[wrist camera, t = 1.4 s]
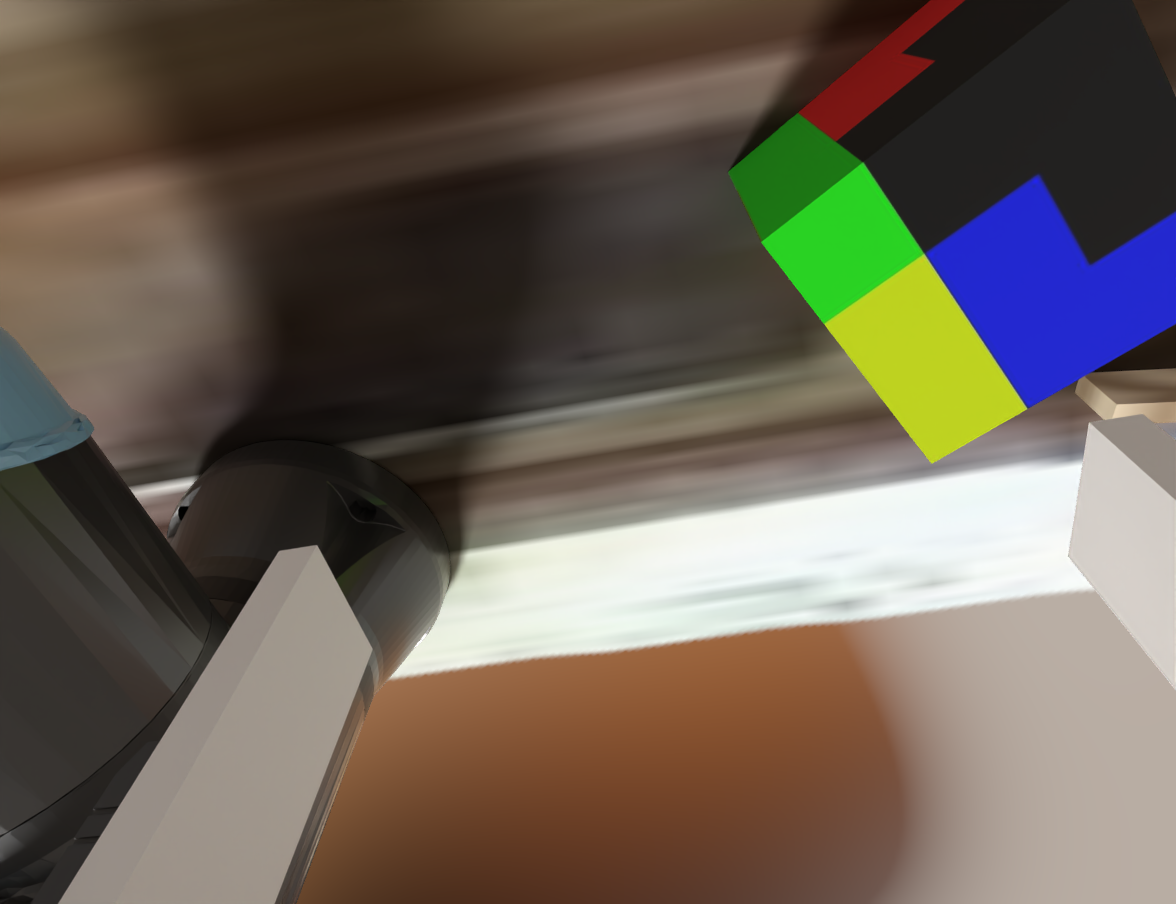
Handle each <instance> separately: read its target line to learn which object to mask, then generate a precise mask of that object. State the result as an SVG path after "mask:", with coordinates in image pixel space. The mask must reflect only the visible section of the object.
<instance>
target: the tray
mask: <svg viewBox="0 0 1176 904" xmlns="http://www.w3.org/2000/svg"><path fill="white" fill-rule="evenodd" d="M1075 393H1076V394H1077V395H1078V396H1079V397H1080V398H1081V399H1082V400H1083V401H1084V402H1086V403H1087V404H1088V405H1089V406H1090V407H1091V408H1092V409H1093V410H1094V411H1095V412H1096V413H1097V414H1099V415H1100V416H1101V417H1102V418H1103V419H1104V420H1107V419H1113V418H1120V417H1126V416H1132V415H1139V414H1143V415H1145V416H1146V417H1147V418H1148V419H1150V420H1151V421H1152V422H1153V423H1169V422H1176V368H1173V369H1154V370H1134V371H1114V372H1094V373H1089V374H1088V375H1086V376H1084V377H1082V378H1081V379H1079V380H1078V384H1077V387H1076V390H1075Z"/></svg>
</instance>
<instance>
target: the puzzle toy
mask: <svg viewBox="0 0 1176 904" xmlns="http://www.w3.org/2000/svg"><path fill="white" fill-rule="evenodd" d="M728 173H729V175H730V177H731V180H732V182H733V184H734V186H735V188H736V190H737V192H738V194H739V196H740V199H741V201H742V203H743V205H744V207H745V209H746V211H747V213H748V215H749V217H750V220H751V222H752V224H753V226H754V228H755V230H756V232H757V234H758V236H759V239H760V241H761V242H762V244H763V245H764V246H765V248H766V249H767V250H768V252H769V253H770V254H771V256H772V257H773V258H774V259H775V261H776V262H777V263H778V265H779V266H780V267H781V269H782V270H783V271H784V272H785V274H786V275H787V276H788V278H789V279H790V280H791V282H792V283H793V284H794V285H795V287H796V288H797V289H798V291H799V292H800V293H801V295H802V296H803V297H804V298H805V300H806V301H807V302H808V304H809V305H810V306H811V308H812V309H813V310H814V311H815V313H816V314H817V315H818V317H819V318H820V319H821V321H822V322H823V323H824V324H825V326H826V327H827V328H828V330H829V331H830V332H831V334H832V335H833V336H834V337H835V339H836V340H837V341H838V343H839V344H840V345H841V347H842V348H843V349H844V350H845V352H846V353H847V354H848V356H849V357H850V358H851V360H852V361H853V362H854V363H855V365H856V366H857V367H858V369H859V370H860V371H861V373H862V374H863V375H864V377H865V378H866V379H867V380H868V382H869V383H870V384H871V386H872V387H873V388H874V390H875V391H876V392H877V393H878V395H879V396H880V397H881V399H882V400H883V401H884V403H885V404H886V405H887V406H888V408H889V409H890V410H891V412H892V413H893V414H894V416H895V417H896V418H897V419H898V421H899V422H900V423H901V425H902V426H903V427H904V429H905V430H906V431H907V432H908V434H909V435H910V436H911V438H912V439H913V440H914V442H915V443H916V444H917V445H918V447H919V448H920V449H921V451H922V452H923V453H924V455H925V456H926V457H927V458H928V460H929V461H930V462H931V464H932V463H934V462H935V461H937V460H939V459H941V458H942V457H944V456H946V455H948V454H949V453H951V452H953V451H955V450H956V449H958V448H960V447H962V446H963V445H965V444H967V443H969V442H970V441H972V440H974V439H976V438H977V437H979V436H981V435H983V434H984V433H986V432H988V431H990V430H991V429H993V428H995V427H997V426H998V425H1000V424H1002V423H1004V422H1005V421H1007V420H1009V419H1011V418H1012V417H1014V416H1016V415H1018V414H1019V413H1021V412H1023V411H1025V410H1026V409H1028V408H1030V407H1032V406H1033V405H1035V404H1037V403H1039V402H1040V401H1042V400H1044V399H1046V398H1047V397H1049V396H1051V395H1053V394H1054V393H1056V392H1058V391H1060V390H1061V389H1063V388H1065V387H1067V386H1068V385H1070V384H1072V383H1074V382H1075V381H1077V380H1079V379H1081V378H1082V377H1084V376H1086V375H1088V374H1089V373H1091V372H1093V371H1095V370H1096V369H1098V368H1100V367H1101V366H1103V365H1105V364H1107V363H1108V362H1110V361H1112V360H1114V359H1115V358H1117V357H1119V356H1121V355H1122V354H1124V353H1126V352H1128V351H1129V350H1131V349H1133V348H1135V347H1136V346H1138V345H1140V344H1142V343H1143V342H1145V341H1147V340H1149V339H1150V338H1152V337H1154V336H1156V335H1157V334H1159V333H1161V332H1163V331H1164V330H1166V329H1168V328H1170V327H1171V326H1173V325H1175V324H1176V97H1175V94H1174V92H1173V90H1172V88H1171V86H1170V83H1169V81H1168V79H1167V77H1166V74H1165V72H1164V70H1163V68H1162V66H1161V63H1160V61H1159V59H1158V57H1157V55H1156V52H1155V50H1154V48H1153V46H1152V43H1151V41H1150V39H1149V37H1148V35H1147V32H1146V30H1145V28H1144V26H1143V24H1142V21H1141V19H1140V17H1139V15H1138V13H1137V10H1136V8H1135V6H1134V4H1133V1H1132V0H930V1H929V2H928V3H927V4H926V5H924V6H923V7H922V8H921V9H920V10H918V11H917V12H916V13H915V14H914V15H913V16H911V17H910V18H909V19H908V20H907V21H905V22H904V23H903V24H902V25H901V26H900V27H898V28H897V29H896V30H895V31H894V32H893V33H891V34H890V35H889V36H888V37H887V38H885V39H884V40H883V41H882V42H881V43H880V44H878V45H877V46H876V47H875V48H874V49H872V50H871V51H870V52H869V53H868V54H867V55H865V56H864V57H863V58H862V59H861V60H859V61H858V62H857V63H856V64H855V65H854V66H852V67H851V68H850V69H849V70H848V71H847V72H845V73H844V74H843V75H842V76H841V77H839V78H838V79H837V80H836V81H835V82H834V83H832V84H831V85H830V86H829V87H828V88H826V89H825V90H824V91H823V92H822V93H821V94H819V95H818V96H817V97H816V98H815V99H813V100H812V101H811V102H810V103H809V104H808V105H806V106H805V107H804V108H803V109H802V110H801V111H799V112H798V113H797V114H796V115H795V116H793V117H792V118H791V119H790V120H789V121H788V122H786V123H785V124H784V125H783V126H782V127H780V128H779V129H778V130H777V131H776V132H775V133H773V134H772V135H771V136H770V137H769V138H767V139H766V140H765V141H764V142H763V143H762V144H760V145H759V146H758V147H757V148H756V149H755V150H753V151H752V152H751V153H750V154H749V155H747V156H746V157H745V158H744V159H743V160H742V161H740V162H739V163H738V164H737V165H736V166H734V167H733V168H732V169H731V170H730V171H729V172H728Z"/></svg>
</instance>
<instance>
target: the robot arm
mask: <svg viewBox="0 0 1176 904" xmlns="http://www.w3.org/2000/svg"><path fill="white" fill-rule="evenodd" d="M93 431H94V427H93V425H92V424H91V422H90V421H89V420H88V418H87V417H86V416H85V415H83V414H81V413H79V412H78V411H76V410H74V409H71V408H70V406H69V405H68V404H67V403H66V401H65V400H64V399H63V398H62V397H61V395H60V394H59V393H58V392H57V390H56V389H55V388H54V387H53V385H52V384H51V383H50V382H49V380H48V379H47V378H46V377H45V376H44V374H43V373H42V372H41V371H40V369H39V368H38V367H37V366H36V364H35V363H34V362H33V361H32V359H31V358H30V357H29V356H28V355H27V353H26V352H25V351H24V350H23V348H22V347H21V346H20V345H19V343H18V342H17V341H16V340H15V339H14V338H13V337H12V336H11V335H10V334H9V333H8V332H7V331H6V330H4V329H3V328H2V327H0V904H296V903H297V900H298V897H299V894H300V892H301V889H302V886H303V884H304V881H305V878H306V876H307V873H308V870H309V868H310V865H311V862H312V859H313V857H314V854H315V851H316V849H317V846H318V843H319V841H320V838H321V835H322V833H323V830H324V827H325V825H326V822H327V819H328V816H329V814H330V811H331V808H332V805H333V803H334V800H335V797H336V795H337V792H338V789H339V786H340V784H341V781H342V779H343V776H344V773H345V770H346V768H347V765H348V762H349V759H350V757H351V754H352V751H353V749H354V746H355V744H356V741H357V738H358V735H359V733H360V731H361V728H362V725H363V722H364V720H365V717H366V715H367V712H368V710H369V707H370V704H371V702H372V699H373V697H374V695H375V694H376V693H377V692H378V691H379V690H380V688H381V687H382V686H383V685H384V684H385V683H386V681H387V680H388V679H389V678H390V677H391V676H392V674H393V673H394V672H395V671H396V670H397V669H398V667H399V666H400V665H401V664H402V662H403V661H404V660H405V659H406V658H407V656H408V655H409V654H410V653H411V651H412V650H413V649H414V648H415V647H416V646H417V645H418V644H419V643H420V642H421V641H422V640H423V639H424V638H425V637H426V636H427V634H428V633H429V632H430V630H431V628H432V627H433V625H434V623H435V621H436V619H437V617H438V615H439V612H440V609H441V606H442V603H443V600H444V597H445V594H446V591H447V588H448V584H449V579H450V556H449V551H448V547H447V543H446V540H445V538H444V535H443V533H442V530H441V528H440V526H439V524H438V523H437V521H436V519H435V518H434V516H433V515H432V513H431V512H430V510H429V509H428V508H427V506H426V505H425V504H424V503H423V502H422V500H421V499H420V498H419V497H418V496H417V495H416V494H415V493H414V492H413V491H412V490H411V489H410V488H409V487H408V486H406V485H405V484H404V483H403V482H402V481H400V480H399V479H398V478H396V477H395V476H394V475H392V474H391V473H389V472H388V471H386V470H385V469H383V468H382V467H380V466H378V465H376V464H375V463H373V462H371V461H369V460H367V459H365V458H363V457H360V456H358V455H356V454H353V453H351V452H348V451H345V450H342V449H339V448H336V447H333V446H328V445H324V444H320V443H314V442H307V441H297V440H276V441H266V442H260V443H255V444H251V445H247V446H244V447H241V448H239V449H236V450H234V451H232V452H230V453H228V454H226V455H224V456H223V457H221V458H220V459H218V460H217V461H216V462H214V463H213V464H212V465H211V466H210V467H209V468H208V469H207V470H206V471H205V472H204V473H203V474H202V475H201V476H200V477H199V478H198V479H197V481H196V482H195V483H194V484H193V485H192V486H191V487H190V488H189V489H188V490H187V492H186V493H185V494H184V495H183V497H182V499H181V500H180V502H179V503H178V505H177V507H176V509H175V511H174V513H173V515H172V518H171V521H170V524H169V528H168V532H167V539H166V538H165V537H164V536H163V534H162V533H161V531H160V530H159V529H158V527H157V526H156V525H155V523H154V522H153V520H152V519H151V518H150V516H149V515H148V514H147V512H146V511H145V510H144V508H143V507H142V505H141V504H140V503H139V501H138V500H137V499H136V497H135V496H134V494H133V493H132V492H131V490H130V489H129V488H128V486H127V485H126V483H125V482H124V481H123V479H122V478H121V477H120V475H119V474H118V472H117V471H116V470H115V468H114V467H113V466H112V464H111V463H110V462H109V460H108V459H107V457H106V456H105V455H104V453H103V452H102V451H101V449H100V448H99V446H98V445H97V444H96V442H95V441H94V440H93V438H92V437H91V434H92V432H93ZM1068 557H1069V558H1070V559H1071V561H1072V562H1073V563H1074V564H1075V566H1076V567H1077V568H1078V569H1079V571H1080V572H1081V573H1082V574H1083V576H1084V577H1085V578H1086V579H1087V581H1088V582H1089V583H1090V584H1091V585H1092V587H1093V588H1094V589H1095V590H1096V592H1097V593H1098V594H1099V595H1100V596H1101V598H1102V599H1103V600H1104V602H1105V603H1106V604H1107V605H1108V607H1109V608H1110V609H1111V610H1112V611H1113V613H1114V614H1115V615H1116V617H1117V618H1118V619H1119V620H1120V622H1121V623H1122V624H1123V625H1124V627H1125V628H1126V629H1127V630H1128V631H1129V633H1130V634H1131V635H1132V636H1133V638H1134V639H1135V640H1136V641H1137V643H1138V644H1139V645H1140V646H1141V647H1142V649H1143V650H1144V651H1145V653H1146V654H1147V655H1148V656H1149V658H1150V659H1151V660H1152V661H1153V662H1154V664H1155V665H1156V666H1157V667H1158V669H1159V670H1160V671H1161V672H1162V674H1163V675H1164V676H1165V677H1166V679H1167V680H1168V681H1169V682H1170V684H1171V685H1172V686H1173V687H1174V689H1175V690H1176V440H1175V439H1174V438H1172V437H1171V436H1170V435H1169V434H1167V433H1166V432H1165V431H1164V430H1162V429H1161V428H1160V427H1159V426H1157V425H1156V424H1155V423H1153V422H1152V421H1151V420H1150V419H1148V418H1147V417H1146V416H1145V415H1143V414H1139V415H1132V416H1126V417H1120V418H1113V419H1107V420H1101V421H1095V422H1089V426H1088V433H1087V439H1086V446H1085V452H1084V458H1083V465H1082V471H1081V477H1080V484H1079V490H1078V496H1077V503H1076V509H1075V516H1074V522H1073V528H1072V535H1071V541H1070V547H1069V554H1068Z"/></svg>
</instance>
